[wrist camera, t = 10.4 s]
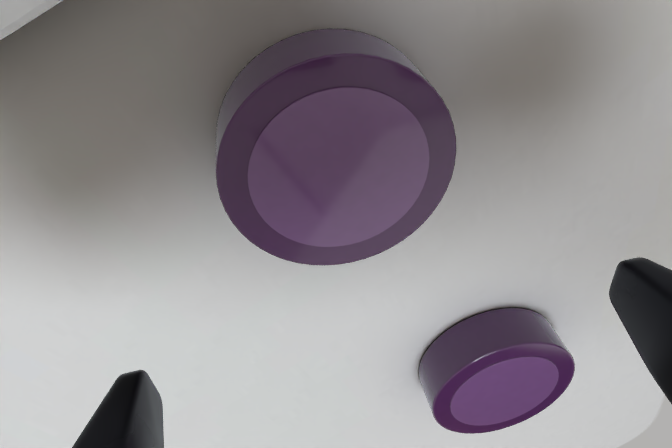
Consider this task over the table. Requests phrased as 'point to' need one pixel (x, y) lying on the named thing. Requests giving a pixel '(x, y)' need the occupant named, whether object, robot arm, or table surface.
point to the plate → (21, 13)
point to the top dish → (332, 148)
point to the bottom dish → (495, 370)
